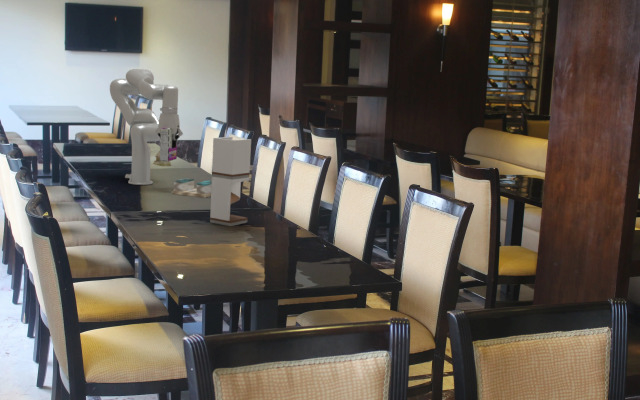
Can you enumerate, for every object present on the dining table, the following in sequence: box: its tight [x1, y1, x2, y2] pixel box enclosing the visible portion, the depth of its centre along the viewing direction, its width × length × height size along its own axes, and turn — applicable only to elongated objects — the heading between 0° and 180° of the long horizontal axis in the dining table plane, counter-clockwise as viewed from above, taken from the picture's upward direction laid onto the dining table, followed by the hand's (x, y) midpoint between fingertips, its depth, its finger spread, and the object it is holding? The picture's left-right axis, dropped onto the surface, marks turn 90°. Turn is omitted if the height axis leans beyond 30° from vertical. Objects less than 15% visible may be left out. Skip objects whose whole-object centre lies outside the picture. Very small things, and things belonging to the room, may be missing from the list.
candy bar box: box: [159, 128, 178, 162], centre depth 401 cm, size 11×5×16 cm, turn 168°
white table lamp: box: [209, 136, 252, 227], centre depth 331 cm, size 11×11×35 cm
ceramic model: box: [153, 150, 172, 167], centre depth 503 cm, size 14×11×10 cm
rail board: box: [171, 177, 212, 199], centre depth 399 cm, size 18×14×6 cm
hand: (168, 147), depth 402 cm, fingers closed on candy bar box, 5 cm apart
